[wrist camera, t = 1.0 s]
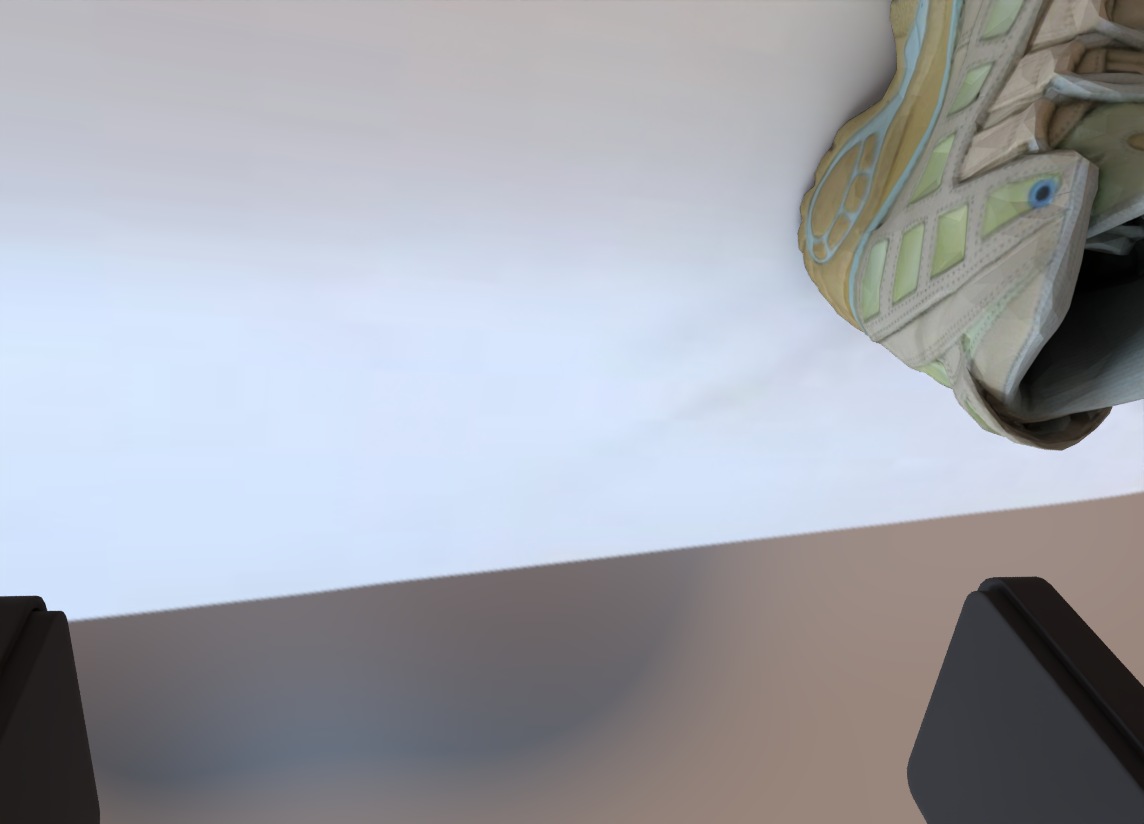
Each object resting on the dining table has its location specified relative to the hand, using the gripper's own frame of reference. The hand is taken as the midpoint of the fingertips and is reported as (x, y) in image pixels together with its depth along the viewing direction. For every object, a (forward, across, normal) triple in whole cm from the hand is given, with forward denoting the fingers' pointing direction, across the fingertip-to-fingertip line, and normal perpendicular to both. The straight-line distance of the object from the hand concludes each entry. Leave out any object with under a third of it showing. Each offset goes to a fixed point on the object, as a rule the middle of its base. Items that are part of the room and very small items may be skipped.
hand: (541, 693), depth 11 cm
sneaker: (+27, -18, -4) cm, 32 cm away
